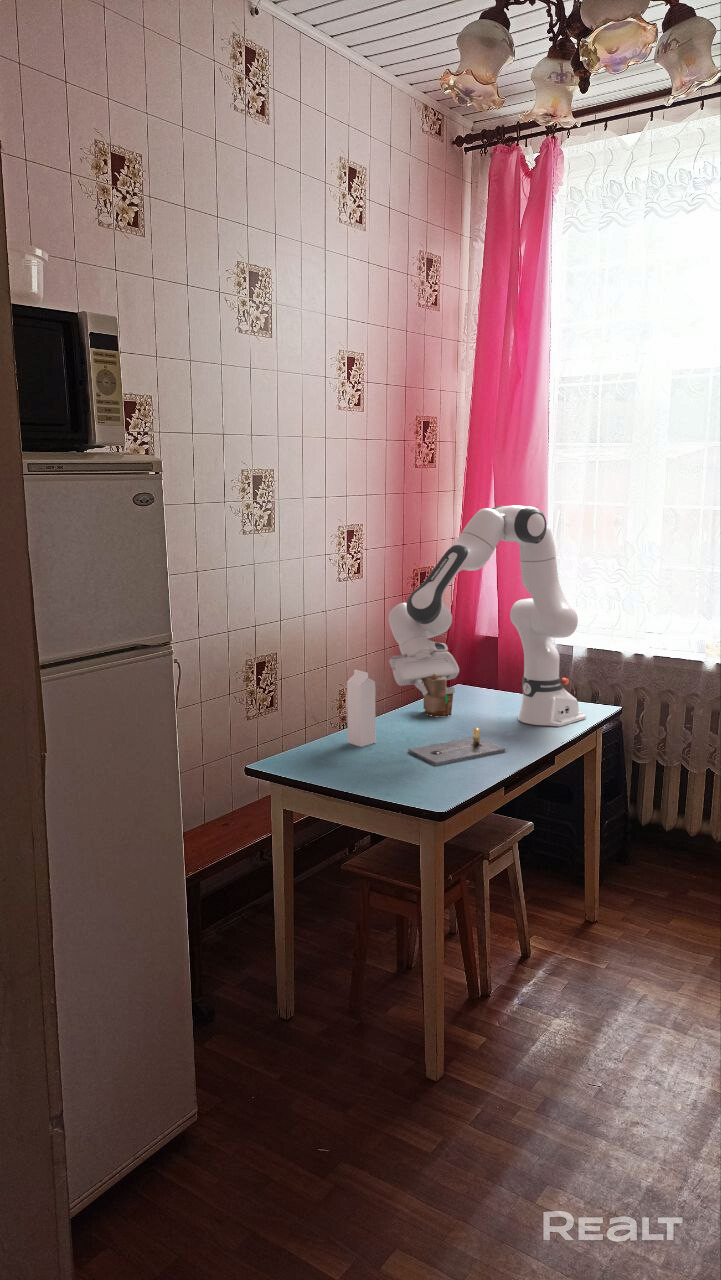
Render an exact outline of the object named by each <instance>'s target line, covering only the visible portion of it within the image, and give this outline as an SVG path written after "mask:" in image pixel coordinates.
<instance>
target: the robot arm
mask: <svg viewBox="0 0 721 1280" xmlns="http://www.w3.org/2000/svg"><path fill="white" fill-rule="evenodd" d="M500 541H503V542H508V543H517V544H518V546H519V560H520V561H519V563H520V571H521V572H520V574H521V582H522V585H523V587H524V588H525V589H526V590H527V592H528V593H529V595H530V596H531V598H523V599H519V600H517V601H515V602H514V603H513V605H512V606H511V609H510V612H509V618H510V621H511V623H512V625H513V626H514V627H515V629H516V631H517V633H518V634H519V638H520V641H521V645H522V651H523V661H524V662H523V675H522V683H521V684H522V687H521V688H522V697H521V703H520V708H519V709H520V710H519V713H518V717H517V720H518V721H520V722H521V723H524V724H529V725H534V726H551V727H563V726H566V725H569V724H572V723H575V722H579V721H582V720H586V719H587V716H586V714H585V713H584V712H581V711H580V709H579V701H578V700H577V698H576V697H575V696H573V695H572V694H571V693H569V692H568V691H567V690H566V689H565V688H564V686H563V685H569V683H570V679H569V678H566V677H562V678H561V677H560V660H561V659H560V653H559V651H558V649H557V648H556V647H555V645H554V643H553V641H552V638H553V639H559V638H560V639H561V638H569V637H571V636H572V635H573V634H574V633H575V631H576V629H577V627H578V623H579V620H578V619H579V618H578V614H577V612H576V610H574V608H573V607H572V606H571V605H570V604H569V602H568V600H567V598H566V596H565V594H564V592H563V590H562V587H561V584H560V579H559V574H558V566H557V565H558V563H557V555H556V554H557V553H556V545H555V540H554V537H553V533H552V530H551V528H550V526H549V525H547V519H546V516H545V514H544V513H543V512H542V510H541V509H539V508H536V507H534V506H529V505H528V506H525V505H517V504H516V505H515V504H514V505H513V504H512V505H506V506H505V505H499V506H495V507H491V508H488V507H485V508H480V509H479V510H478V511H476V513H475V514H474V515H473V516H472V517H471V519H470V520H468V522H467V524H466V525H465V527H463V530H462V532H461V533H460V535H459V536H458V538H457V540H456V541H455V542H454V544H453V545H452V546H450V547H449V548H448V550H446V551H445V552H444V554H443V556H441V558H440V559H439V560H438V562H437V564H435V566H434V568H433V569H432V571H431V572H430V573H429V575H428V576H427V578H426V579H425V580H424V581H423V582H422V583H421V584H420V585H419V586H418V587H417V588H415V589H414V590H413V591H412V592H411V593H410V595H408V598H407V599H406V602H401V603H399V604H397V605H395V606H394V607H393V608H391V610H390V611H389V614H388V624H389V627H390V631H391V632H392V636H393V637H394V640H395V641H396V642H397V644H398V648H399V651H400V654H398V655H392V656H391V657H390V658H389V660H388V662H389V666H390V668H391V669H392V674H393V678H394V681H395V683H396V684H397V685H398V686H400V687H402V686H410V685H414V686H415V688H417V689H418V690H419V691H421V693H422V696H423V697H424V696H425V695H429V694H430V690H429V688H428V687H425V686H424V685H423V683H424V678H430V677H433V674H437V677H441V678H444V679H446V682H447V681H449V680H455V679H456V678H457V676H458V675H459V673H460V667H459V665H458V662H457V661H456V659H455V657H454V656H453V654H451V653H450V652H449V651H448V650H449V648H448V645H447V644H446V643H443V642H442V643H441V642H437V641H433V640H431V639H432V638H435V637H438V636H441V635H443V634H445V633H446V632H448V631H449V629H450V627H451V626H452V623H453V614H452V612H451V611H450V609H449V607H448V606H447V605H446V604H445V602H444V599H443V597H444V593H445V591H446V590H447V589H448V588H449V586H450V584H451V583H452V581H453V580H454V578H455V577H456V576H457V574H458V573H459V572H462V571H463V570H464V571H468V572H472V571H473V572H474V571H478V570H480V569H482V568H483V567H484V566H485V565H486V564H487V562H488V561H489V560H490V558H491V557H492V555H493V553H494V551H495V549H496V547H497V546H498V543H499V542H500ZM447 688H448V687H447V686H446V692H447V691H448V689H447Z"/></svg>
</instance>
